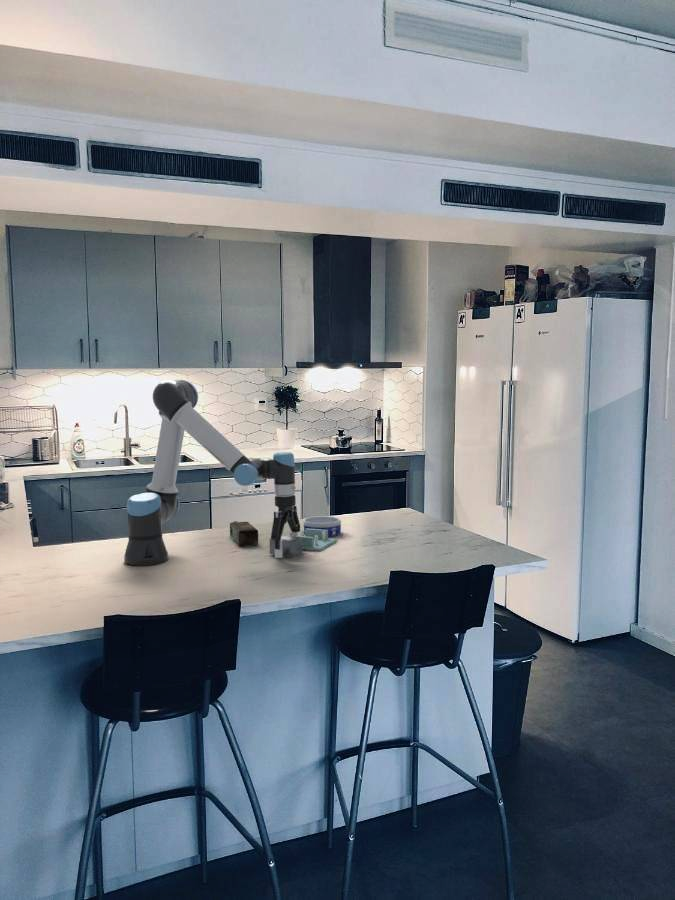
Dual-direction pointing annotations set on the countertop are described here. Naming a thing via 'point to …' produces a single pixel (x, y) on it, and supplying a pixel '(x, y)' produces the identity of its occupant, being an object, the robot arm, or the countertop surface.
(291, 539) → the block
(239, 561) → the countertop surface
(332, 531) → the dog bowl
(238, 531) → the beverage carton
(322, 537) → the pin tray
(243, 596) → the countertop surface
